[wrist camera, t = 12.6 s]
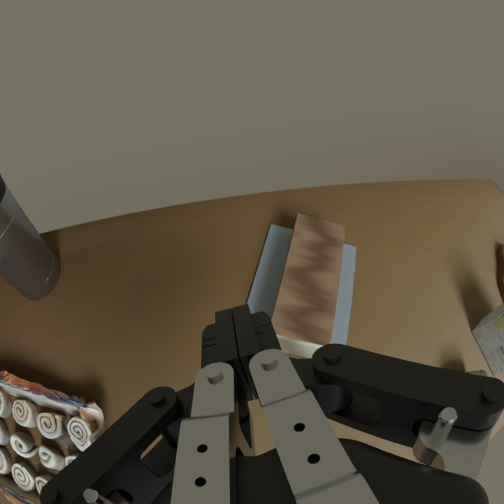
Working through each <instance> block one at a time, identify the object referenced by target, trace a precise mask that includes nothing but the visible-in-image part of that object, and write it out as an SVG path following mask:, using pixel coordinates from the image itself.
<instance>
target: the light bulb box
mask: <svg viewBox="0 0 504 504" xmlns="http://www.w3.org/2000/svg"><path fill="white" fill-rule="evenodd" d="M472 333H473V335H474V337H475V339H476V340H477V342H478V344H479V346H480V348H481V350H482V352H483V354H484V356H485V358H486V360H487V363H488V365H489V367H490V369H491V371H492V373H493V376H494V377H496V376H498V375H501V374H503V373H504V303H503V304H502V305H500V306H499V307H498V308H496V309H495V310H493V311H492V312H491V313H489V314H488V315H486V316H485V317H484V318H483V319H482V320H481V322H480V323H479V324H478V325H477V326H476V327H475V328H474V329H473V330H472Z"/></svg>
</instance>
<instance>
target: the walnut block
mask: <svg viewBox="0 0 504 504" xmlns="http://www.w3.org/2000/svg"><path fill="white" fill-rule="evenodd" d="M344 235H345V226H344V225H340V224H337V223H333V222H329V221H326V220H322V219H318V218H315V217H311V216H307V215H304V214H300V213H298V214H297V218H296V221H295V225H294V229H293V232H292V236H291V240H290V244H289V248H288V252H287V256H286V261H285V265H284V269H283V273H282V277H281V281H280V285H279V288H278V292H277V296H276V300H275V304H274V308H273V312H272V315H271V322H272V324H273V327H274V330H275V332H276V335H277V338H278V341H279V343H280V346H281V349H282V351H284V352H285V353H289V354H293V355H298V356H302V357H306V358H312V355H313V353H314V352H315V351H316V350H317V349H318V348H320V347H322V346H324V345H327V344H330V342H331V336H332V330H333V324H334V318H335V311H336V305H337V298H338V290H339V282H340V274H341V265H342V256H343V246H344Z"/></svg>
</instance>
